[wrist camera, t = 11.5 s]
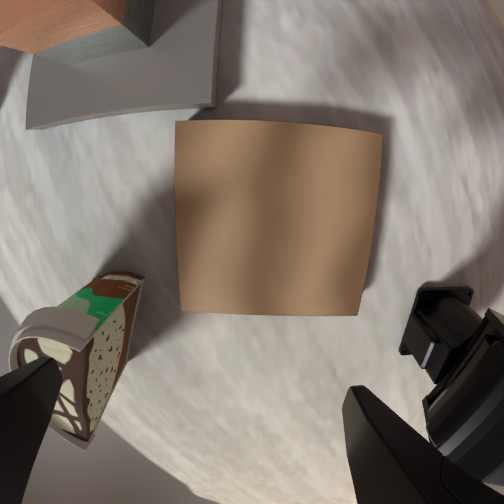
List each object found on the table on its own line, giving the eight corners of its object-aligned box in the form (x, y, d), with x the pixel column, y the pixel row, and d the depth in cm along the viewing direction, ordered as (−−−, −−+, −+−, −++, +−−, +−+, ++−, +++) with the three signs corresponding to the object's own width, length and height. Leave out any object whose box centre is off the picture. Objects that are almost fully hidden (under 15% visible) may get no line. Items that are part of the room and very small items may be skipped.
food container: (80, 230, 19) (-11, 286, 10) (149, 259, 20) (80, 342, 11) (70, 346, 23) (19, 415, 14) (125, 372, 24) (86, 454, 14)
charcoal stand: (228, -52, 12) (225, -66, 10) (215, 107, 16) (210, 103, 15) (66, -16, 12) (54, -23, 10) (41, 129, 17) (25, 129, 15)
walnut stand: (370, 135, 17) (382, 134, 15) (349, 301, 21) (357, 315, 19) (184, 123, 17) (175, 121, 15) (187, 296, 21) (180, 310, 19)
